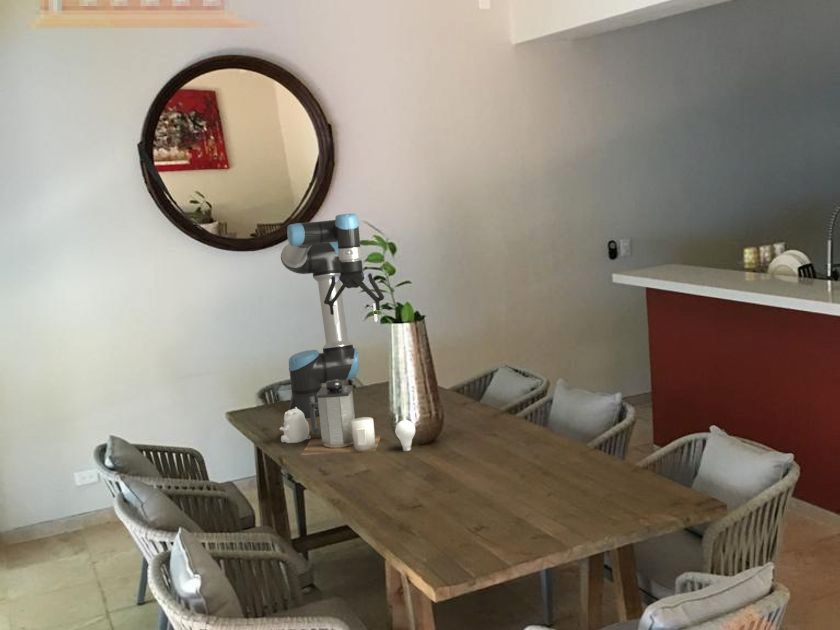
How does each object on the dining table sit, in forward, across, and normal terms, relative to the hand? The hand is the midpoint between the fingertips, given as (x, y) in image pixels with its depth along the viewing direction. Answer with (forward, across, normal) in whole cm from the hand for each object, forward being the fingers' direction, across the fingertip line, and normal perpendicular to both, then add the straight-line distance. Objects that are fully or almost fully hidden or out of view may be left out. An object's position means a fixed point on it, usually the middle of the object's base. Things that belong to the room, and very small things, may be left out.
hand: (356, 322), depth 295 cm
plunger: (+34, -7, -15) cm, 38 cm away
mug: (+37, +2, -21) cm, 43 cm away
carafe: (+37, -9, -15) cm, 41 cm away
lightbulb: (+39, +16, -26) cm, 49 cm away
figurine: (+39, -23, -7) cm, 46 cm away
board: (+39, -6, -17) cm, 43 cm away
